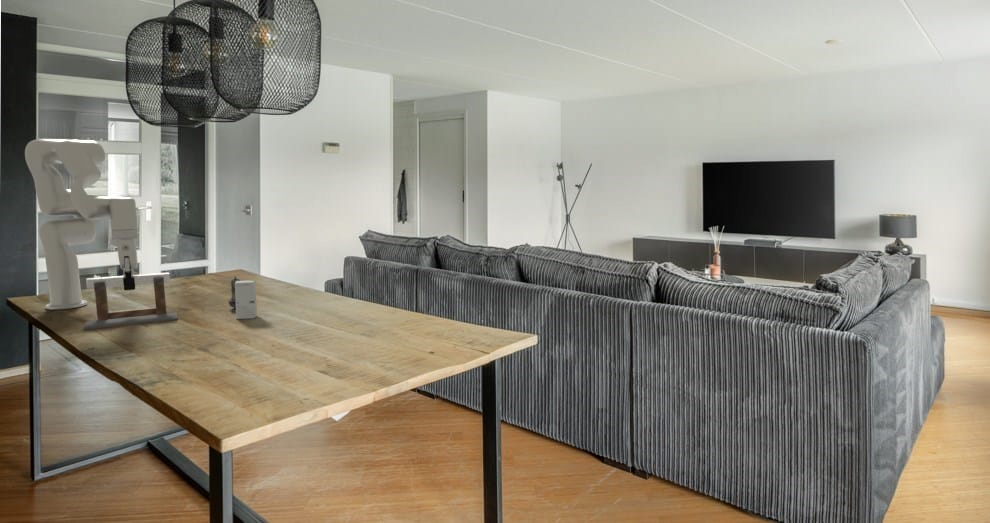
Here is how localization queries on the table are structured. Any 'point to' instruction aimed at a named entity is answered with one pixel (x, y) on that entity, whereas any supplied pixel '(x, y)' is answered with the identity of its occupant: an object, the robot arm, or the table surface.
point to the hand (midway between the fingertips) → (129, 288)
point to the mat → (130, 321)
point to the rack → (159, 309)
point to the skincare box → (245, 299)
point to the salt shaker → (233, 295)
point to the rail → (118, 280)
